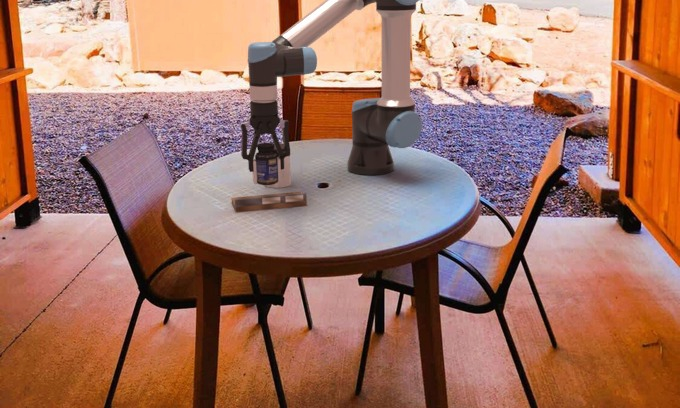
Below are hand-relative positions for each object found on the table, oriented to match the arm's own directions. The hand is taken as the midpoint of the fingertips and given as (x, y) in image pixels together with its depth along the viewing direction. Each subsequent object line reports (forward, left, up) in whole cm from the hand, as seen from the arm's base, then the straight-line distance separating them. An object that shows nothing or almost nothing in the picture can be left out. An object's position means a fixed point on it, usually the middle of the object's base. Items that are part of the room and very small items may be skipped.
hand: (267, 181), depth 221 cm
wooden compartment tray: (0, +1, -7) cm, 7 cm away
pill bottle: (0, 0, -1) cm, 1 cm away
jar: (-6, -18, -7) cm, 20 cm away
